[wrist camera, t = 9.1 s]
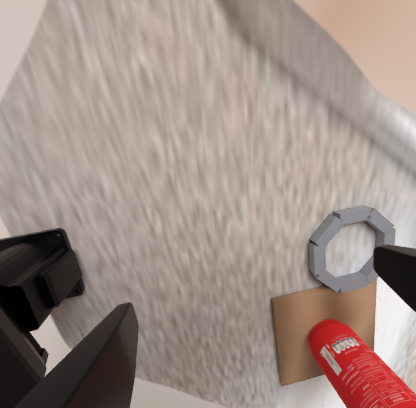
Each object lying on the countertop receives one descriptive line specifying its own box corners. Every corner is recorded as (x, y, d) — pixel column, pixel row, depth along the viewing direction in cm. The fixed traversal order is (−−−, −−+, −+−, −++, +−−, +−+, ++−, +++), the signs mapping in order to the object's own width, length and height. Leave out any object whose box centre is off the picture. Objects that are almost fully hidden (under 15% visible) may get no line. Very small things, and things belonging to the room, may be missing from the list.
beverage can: (349, 313, 25) (496, 452, 14) (342, 350, 26) (472, 506, 15) (307, 317, 24) (424, 468, 13) (302, 355, 26) (404, 523, 14)
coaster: (279, 381, 27) (282, 386, 26) (271, 298, 24) (273, 302, 23) (369, 356, 28) (373, 360, 28) (372, 274, 25) (376, 277, 24)
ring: (310, 293, 24) (315, 299, 24) (306, 216, 22) (312, 220, 21) (383, 275, 25) (392, 280, 24) (387, 200, 23) (397, 202, 22)
